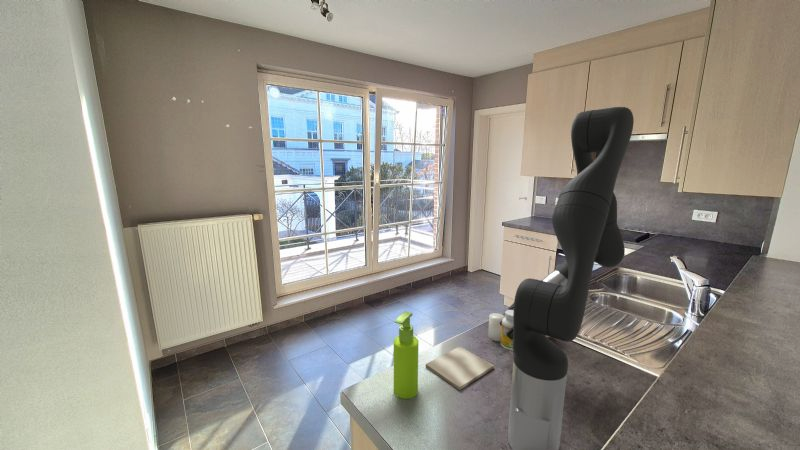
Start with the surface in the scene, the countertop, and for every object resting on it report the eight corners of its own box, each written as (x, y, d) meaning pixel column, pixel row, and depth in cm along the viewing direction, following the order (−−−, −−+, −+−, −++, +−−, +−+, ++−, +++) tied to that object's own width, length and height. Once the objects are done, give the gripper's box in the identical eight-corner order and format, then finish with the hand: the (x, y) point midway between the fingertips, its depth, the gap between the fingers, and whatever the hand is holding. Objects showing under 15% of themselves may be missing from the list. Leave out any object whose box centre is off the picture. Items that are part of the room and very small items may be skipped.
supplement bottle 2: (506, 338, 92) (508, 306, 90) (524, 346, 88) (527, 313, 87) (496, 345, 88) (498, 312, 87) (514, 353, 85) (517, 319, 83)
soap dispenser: (387, 396, 75) (386, 317, 72) (400, 379, 81) (400, 306, 78) (409, 405, 73) (410, 323, 69) (421, 387, 79) (422, 311, 75)
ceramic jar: (502, 342, 99) (503, 321, 98) (486, 338, 101) (487, 318, 100) (506, 335, 103) (507, 315, 102) (490, 331, 106) (491, 312, 104)
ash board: (459, 390, 78) (459, 387, 77) (425, 366, 87) (425, 364, 87) (493, 368, 86) (493, 365, 86) (459, 348, 95) (459, 346, 95)
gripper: (532, 272, 92) (489, 311, 94) (555, 291, 78) (503, 335, 80) (549, 290, 93) (505, 328, 95) (575, 311, 79) (523, 355, 81)
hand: (505, 331), depth 88 cm, fingers closed on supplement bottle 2, 5 cm apart
